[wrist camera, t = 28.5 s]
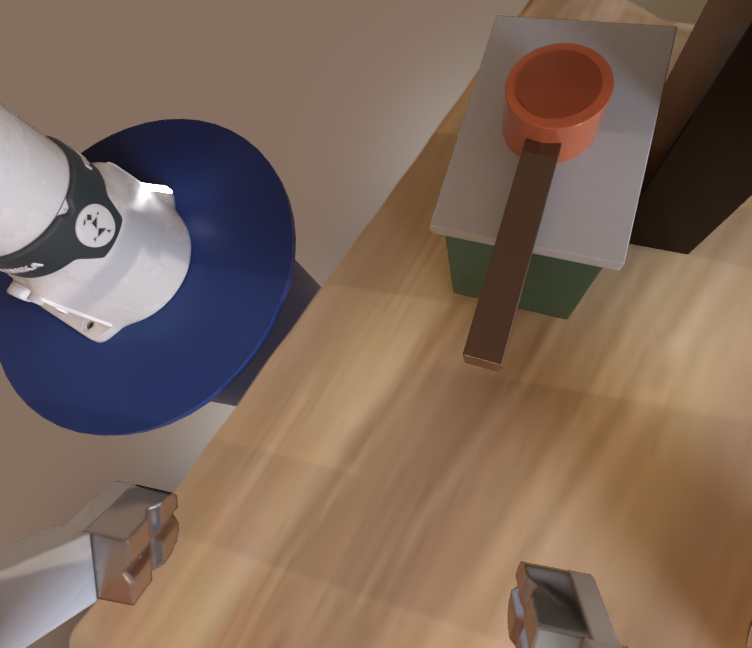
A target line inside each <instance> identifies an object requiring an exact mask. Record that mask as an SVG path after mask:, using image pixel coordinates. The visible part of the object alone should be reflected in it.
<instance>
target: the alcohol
mask: <svg viewBox="0 0 752 648" xmlns="http://www.w3.org/2000/svg"><path fill="white" fill-rule="evenodd" d="M747 648H752V625H751V628H750V632H749V635H748V643H747Z"/></svg>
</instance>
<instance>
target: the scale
mask: <svg viewBox="0 0 752 648" xmlns="http://www.w3.org/2000/svg"><path fill="white" fill-rule="evenodd" d="M676 30H677V27H675V26H659V25H643V24H627V23H611V22H595V21H579V20H563V19H547V18H531V17H514V16H498V15H497V16H496V19H495V22H494V25H493V28H492V31H491V35H490V38H489V41H488V44H487V47H486V50H485V53H484V56H483V59H482V63H481V66H480V69H479V72H478V75H477V78H476V81H475V84H474V87H473V91H472V94H471V97H470V100H469V103H468V106H467V109H466V112H465V116H464V119H463V122H462V125H461V128H460V131H459V134H458V137H457V141H456V144H455V147H454V150H453V153H452V156H451V159H450V162H449V165H448V169H447V172H446V175H445V178H444V181H443V184H442V187H441V190H440V194H439V197H438V200H437V203H436V206H435V209H434V212H433V215H432V219H431V222H430V225H429V226H430V231H431V233H435V234H440V235H445V236H446V243H447V250H448V257H449V264H450V271H451V278H452V285H453V292H454V293H457V294H461V295H465V296H470V297H474V298H478V299H479V297H480V293H481V290H482V286H483V283H484V279H485V276H486V273H487V269H488V266H489V262H490V259H491V255H492V252H493V248H494V245H495V241H496V238H497V235H498V231H499V228H500V224H501V221H502V217H503V214H504V210H505V207H506V204H507V200H508V197H509V193H510V190H511V186H512V183H513V179H514V176H515V173H516V169H517V166H518V162H519V159H520V157H519V156H518V155H516V154H515V153H514V152H513V151H512V150H511V149H510V148H509V147H508V145H507V144H506V142H505V140H504V137H503V133H502V120H503V107H504V95H505V84H506V80H507V77H508V75H509V73H510V71H511V70H512V68H513V67H514V66H515V64H516V63H517V62H518V61H519V60H520V59H521V58H523V57H524V56H525V55H527V54H528V53H530V52H532V51H534V50H535V49H538V48H540V47H543V46H547V45H551V44H557V43H572V44H578V45H582V46H585V47H588V48H591V49H592V50H594V51H596V52H598V53H599V54H600V55H601V56H603V57H604V58H605V59H606V61H607V62H608V63H609V65H610V67H611V69H612V72H613V75H614V90H613V94H612V97H611V99H610V102H609V105H608V107H607V110H606V112H605V115H604V118H603V120H602V123H601V126H600V128H599V131H598V133H597V136H596V138H595V140H594V141H593V143H592V144H591V145H590V146H589V147H588V148H587V149H586V150H585V151H584V152H583V153H581V154H580V155H578V156H577V157H575V158H573V159H571V160H568V161H565V162H561V163H557V165H556V168H555V172H554V176H553V179H552V183H551V187H550V190H549V194H548V198H547V202H546V205H545V209H544V213H543V216H542V220H541V224H540V227H539V231H538V235H537V238H536V242H535V246H534V250H533V253H532V257H531V261H530V264H529V268H528V272H527V275H526V279H525V283H524V286H523V290H522V294H521V297H520V301H519V305H518V308H520V309H525V310H529V311H533V312H537V313H542V314H546V315H550V316H554V317H559V318H563V319H568V317H569V316H570V314H571V313H572V312H573V310H574V309H575V307H576V306H577V304H578V303H579V301H580V300H581V298H582V297H583V296H584V294H585V293H586V291H587V290H588V288H589V287H590V285H591V284H592V282H593V281H594V280H595V278H596V277H597V275H598V274H599V272H600V271H601V269H602V268H608V269H613V270H620V268H621V267H622V266H623V265H624V263H625V258H626V254H627V249H628V245H629V241H630V236H631V232H632V227H633V223H634V218H635V214H636V209H637V205H638V200H639V196H640V191H641V187H642V182H643V178H644V173H645V169H646V164H647V160H648V155H649V151H650V146H651V142H652V137H653V133H654V128H655V124H656V119H657V115H658V110H659V106H660V101H661V97H662V92H663V88H664V84H665V79H666V75H667V70H668V66H669V61H670V57H671V52H672V48H673V43H674V39H675V34H676Z"/></svg>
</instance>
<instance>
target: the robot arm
mask: <svg viewBox="0 0 752 648" xmlns="http://www.w3.org/2000/svg"><path fill="white" fill-rule="evenodd" d="M190 258H191V239H190V234H189V231H188V228H187V226H186V224H185V223H184V221H183V220H182V218H181V217H180V215H179V214H178V212H177V210H176V206H175V199H174V194H173V192H172V190H171V189H170V188H168V187H167V186H165V185H163V184H147V183H142V182H140V181H139V180H137V179H136V178H135V177H133V176H132V175H130V174H129V173H127V172H126V171H124V170H123V169H122V168H120V167H119V166H117V165H115V164H114V163H111V162H106V163H101V162H96V163H91V162H89V161H88V160H87V159H86V158H85V157H84V156H83V155H82V154H80V153H79V152H77V151H76V150H75V149H73V148H72V147H70V146H68V145H66V144H64V143H62V142H61V141H59V140H58V139H56V138H53V137H50V136H45V135H43V134H42V133H41V132H39V131H38V130H36V129H35V128H34V127H32V126H31V125H30V124H28V123H27V122H25V121H24V120H23V119H21V118H20V117H19V116H17V115H16V114H14V113H13V112H12V111H11V110H9V109H8V108H6V107H5V106H4V105H2V104H1V103H0V271H3V272H5V273H7V274H8V275H9V276H11V277H12V278H13V283H11V285H10V286H9V288H8V289H7V293H9V294H11V295H13V296H15V297H17V298H19V299H22V300H24V301H27V302H33V303H36V304H38V305H39V306H41V307H42V308H44V309H45V310H47V311H49V312H50V313H52V314H53V315H55V316H56V317H58V318H59V319H61V320H62V321H64V322H65V323H67V324H68V325H70V326H71V327H73V328H74V329H76V330H77V331H79V332H80V333H82V334H83V335H85V336H86V337H88V338H89V339H91V340H94V341H96V342H99V343H101V342H105V341H107V340H108V339H110V338H111V337H112V336H114V335H115V334H116V333H117V332H118V331H120V330H121V329H122V328H123V327H125V326H127V325H129V324H132V323H135V322H138V321H141V320H143V319H145V318H147V317H149V316H151V315H152V314H154V313H155V312H157V311H158V310H160V309H161V308H162V307H163V306H164V305H165V304H166V303H167V302H168V301H169V300H170V299H171V298H172V297H173V296H174V294H175V293H176V292H177V290H178V289H179V287H180V286H181V284H182V282H183V280H184V278H185V276H186V273H187V270H188V267H189V263H190ZM92 325H93V327H92ZM177 508H178V500H177V495H176V494H174V493H172V492H167V491H163V490H158V489H154V488H149V487H145V486H140V485H133V484H129V483H125V482H121V481H115V482H112V483H110V484H109V485H108V486H106V487H105V488H104V489H103V490H102V491H101V492H100V493H99V494H98V495H96V496H95V497H94V498H93V499H92V500H91V501H90V502H89V503H88V504H86V505H85V506H84V507H83V508H82V509H81V510H80V511H79V512H78V513H76V514H75V515H74V516H73V517H72V518H71V519H70V520H69V521H68V522H66V523H65V524H64V525H63V526H62V527H59V526H54V527H52V528H49V529H46V530H44V531H41V532H39V533H36V534H34V535H31V536H29V537H26V538H24V539H21V540H19V541H16V542H14V543H11V544H9V545H6V546H4V547H1V548H0V648H25V647H27V646H28V645H30V644H31V643H33V642H35V641H36V640H37V639H39V638H41V637H42V636H44V635H45V634H47V633H48V632H50V631H51V630H53V629H55V628H56V627H58V626H59V625H61V624H62V623H64V622H65V621H67V620H68V619H70V618H71V617H73V616H74V615H76V614H78V613H79V612H81V611H82V610H84V609H85V608H87V607H88V606H90V605H91V604H93V603H94V602H96V601H97V599H102V600H107V601H112V602H118V603H123V604H128V605H133V606H134V604H135V603H136V602H137V600H138V599H139V598H140V596H141V595H142V594H143V592H144V591H145V589H146V588H147V587H148V585H149V584H150V583H151V581H152V570H154V569H156V568H158V567H160V566H161V565H163V564H164V563H165V562H166V561H167V559H168V558H169V556H170V555H171V553H172V551H173V549H174V546H175V544H176V542H177V537H178V532H179V522H178V521H177V519H176V518H175V516H174V515H173V513H174V511H175V510H176V509H177ZM516 580H517V587H515V588H514V589H512V590H511V594H510V599H509V604H508V630H509V638H510V640H511V641H512V642H513V644H514V645H515V646H516V648H628V647H626V646H622V645H620V643H619V640H618V638H617V635H616V633H615V630H614V628H613V625H612V622H611V620H610V617H609V615H608V612H607V609H606V607H605V604H604V602H603V599H602V596H601V594H600V591H599V589H598V586H597V584H596V581H595V578H594V577H593V576H592V575H591V574H587V573H581V572H576V571H570V570H567V571H566V570H563V569H558V568H553V567H548V566H542V565H537V564H532V563H526V562H520V564H519V565H518V568H517V572H516Z"/></svg>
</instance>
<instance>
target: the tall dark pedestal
mask: <svg viewBox="0 0 752 648" xmlns="http://www.w3.org/2000/svg"><path fill="white" fill-rule="evenodd" d="M751 195H752V0H708V1H707V3H706V5H705V7H704V9H703V11H702V13H701V15H700V17H699V19H698V21H697V22H696V24H695V26H694V28H693V30H692V32H691V34H690V36H689V38H688V40H687V42H686V44H685V46H684V48H683V50H682V52H681V54H680V56H679V58H678V59H677V61H676V63H675V65H674V67H673V69H672V71H671V73H670V75H669V77H668V79H667V81H666V83H665V85H664V88H663V92H662V97H661V101H660V106H659V110H658V115H657V119H656V124H655V128H654V133H653V137H652V142H651V146H650V151H649V155H648V160H647V164H646V169H645V173H644V178H643V182H642V187H641V191H640V196H639V200H638V205H637V209H636V214H635V218H634V223H633V227H632V232H631V236H630V241H629V244H635V245H640V246H646V247H651V248H656V249H662V250H667V251H673V252H678V253H683V254H689V253H690V252H691V251H692V250H693V249H694V248H695V247H696V246H698V245H699V244H700V243H701V242H702V241H703V240H704V239H705V238H706V237H707V236H708V235H709V234H710V233H712V232H713V231H714V230H715V229H716V228H717V227H718V226H719V225H720V224H721V223H722V222H723V221H724V220H725V219H727V218H728V217H729V216H730V215H731V214H732V213H733V212H734V211H735V210H736V209H737V208H738V207H739V206H740V205H742V204H743V203H744V202H745V201H746V200H747V199H748V198H749V197H750V196H751Z"/></svg>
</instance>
